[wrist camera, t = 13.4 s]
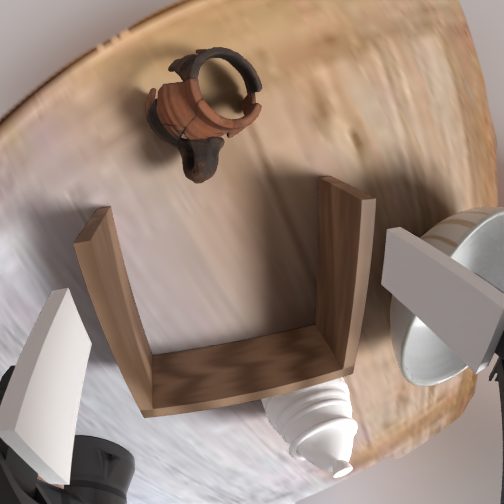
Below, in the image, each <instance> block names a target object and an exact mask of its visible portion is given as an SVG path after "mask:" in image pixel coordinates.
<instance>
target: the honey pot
mask: <svg viewBox="0 0 504 504" xmlns="http://www.w3.org/2000/svg"><path fill="white" fill-rule="evenodd" d="M261 401H262V404H263V407H264V410H265V412H266V414H267V417H268V421H269V423H270V424H271V426H272V427H273V428H274V429H275V430H277V432H278V433H279V434H280V435H281V436H282V438H283V439H284V441H285V442H287V443H289V444H290V447H289V453H290V455H291V456H292V457H293V458H295V459H298V460H308V461H309V462H310V463H312V464H313V465H315V466H317V467H318V468H321V469H323V470H326V471H330V472H332V474H333V477H334V478H338V477H341V476H344V475H346V474H348V473H349V472H350V471H352V469H353V467H352V466H351V465H350V464H349V463H348V461H349V459H350V456H351V452H352V446H353V437H354V435H355V434H356V432H357V428H358V426H357V423H356V421H355V420H353V419H352V415H351V414H352V407H351V404H350V403H351V402H350V399H349V390H348V386H347V384H346V383H345V381H344V379H343V377H341V378H338V379H335V380H331V381H328V382H325V383H321V384H318V385H314V386H311V387H307V388H304V389H300V390H296V391H292V392H288V393H284V394H280V395H276V396H272V397H268V398H264V399H261Z"/></svg>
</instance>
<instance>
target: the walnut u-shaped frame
mask: <svg viewBox="0 0 504 504" xmlns="http://www.w3.org/2000/svg"><path fill="white" fill-rule="evenodd" d="M375 210H376V198H374V197H372V196H370V195H368V194H366V193H364V192H362V191H360V190H358V189H356V188H354V187H352V186H350V185H348V184H346V183H344V182H342V181H340V180H338V179H336V178H334V177H332V176H328V177H319V234H318V273H317V297H316V317H315V325H311V326H307V327H303V328H299V329H294V330H290V331H285V332H281V333H276V334H272V335H267V336H262V337H257V338H253V339H248V340H243V341H237V342H232V343H227V344H221V345H216V346H210V347H204V348H199V349H193V350H186V351H180V352H174V353H167V354H160V355H152V352H151V349H150V347H149V344H148V341H147V338H146V335H145V332H144V329H143V326H142V323H141V320H140V316H139V313H138V310H137V307H136V303H135V300H134V297H133V293H132V290H131V286H130V283H129V279H128V276H127V272H126V268H125V265H124V261H123V257H122V253H121V249H120V245H119V241H118V237H117V232H116V228H115V224H114V219H113V214H112V210H111V206H110V207H105V208H100V209H97V210H96V211H95V213H94V214H93V216H92V217H91V218H90V220H89V221H88V223H87V224H86V226H85V227H84V228H83V230H82V231H81V233H80V234H79V236H78V237H77V239H76V240H75V242H74V243H73V245H74V248H75V252H76V255H77V259H78V262H79V265H80V268H81V271H82V274H83V277H84V280H85V283H86V286H87V289H88V292H89V295H90V298H91V301H92V303H93V306H94V309H95V311H96V314H97V317H98V319H99V322H100V324H101V327H102V329H103V332H104V334H105V337H106V339H107V342H108V344H109V346H110V349H111V351H112V353H113V356H114V358H115V360H116V362H117V364H118V367H119V369H120V371H121V373H122V375H123V377H124V380H125V382H126V384H127V386H128V388H129V390H130V392H131V394H132V396H133V398H134V400H135V402H136V404H137V406H138V407H139V409H140V411H141V413H142V415H143V417H144V418H149V417H158V416H167V415H175V414H182V413H189V412H196V411H202V410H208V409H214V408H219V407H225V406H230V405H235V404H240V403H245V402H250V401H255V400H259V399H264V398H268V397H272V396H276V395H280V394H284V393H288V392H292V391H296V390H300V389H304V388H307V387H311V386H314V385H318V384H321V383H325V382H328V381H331V380H335V379H338V378H341V377H344V376H347V375H351V374H353V371H354V366H355V361H356V356H357V350H358V345H359V340H360V334H361V328H362V322H363V316H364V310H365V303H366V296H367V289H368V281H369V273H370V265H371V255H372V246H373V235H374V223H375Z"/></svg>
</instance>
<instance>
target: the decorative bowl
mask: <svg viewBox="0 0 504 504" xmlns="http://www.w3.org/2000/svg"><path fill="white" fill-rule="evenodd" d="M420 239H422V240H423V241H425V242H427V243H428V244H430V245H431V246H433V247H435V248H436V249H438V250H439V251H441V252H443V253H444V254H446V255H447V256H449V257H451V258H452V259H454V260H455V261H457V262H458V263H460V264H461V265H463V266H464V267H466V268H467V269H469V270H470V271H472V272H474V273H476V274H478V275H479V276H481V277H482V278H484V279H485V280H486V281H488V282H490V283H491V284H493V286H494V287H497V288H498V289H500V290H501V291H503V292H504V208H503V207H481V208H474V209H469V210H465V211H462V212H459V213H457V214H454V215H452V216H450V217H448V218H446V219H444V220H442V221H441V222H439V223H438V224H436V225H435V226H434V227H432V228H431V229H430V230H429V231H428V232H427V233H425V234H424V235H423V236H421V237H420ZM390 330H391V339H392V344H393V349H394V353H395V356H396V359H397V362H398V365H399V368H400V370H401V372H402V374H403V376H404V377H405V379H406V380H407V381H408V382H409V383H411V384H413V385H416V386H422V387H425V386H433V385H436V384H440V383H442V382H445V381H447V380H449V379H451V378H453V377H454V376H456V375H458V374H459V373H461V372H462V371H464V370H465V369H466V368H468V366H467V365H466V364H465V363H464V362H463V361H462V360H461V359H460V358H459V357H458V356H457V355H456V354H455V353H454V352H453V351H452V350H451V349H450V348H449V347H448V346H447V345H446V344H445V343H444V342H443V341H442V340H441V339H440V338H439V337H438V336H437V335H436V334H435V333H434V332H433V331H432V330H431V329H429V328H428V327H427V326H426V325H425V324H424V323H423V322H422V321H421V320H420V319H419V318H418V317H417V316H416V315H415V314H413V313H412V312H411V311H410V310H409V309H408V308H407V307H406V306H405V305H404V304H403V303H401V302H400V301H399V300H398V299H397V298H396V297H395V296H394V295H393V294H392V299H391V307H390Z"/></svg>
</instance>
